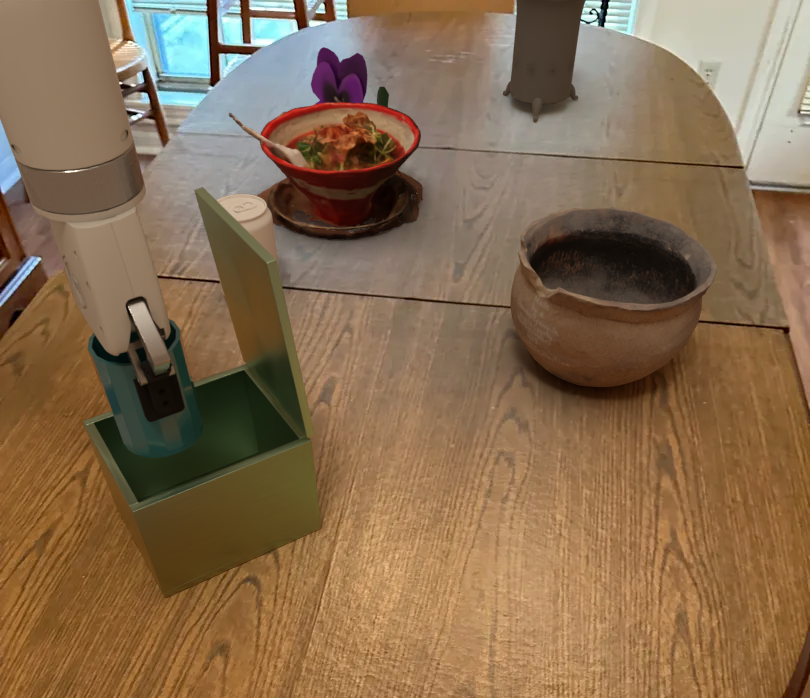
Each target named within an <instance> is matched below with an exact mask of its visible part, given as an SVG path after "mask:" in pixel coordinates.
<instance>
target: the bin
mask: <svg viewBox="0 0 810 698" xmlns="http://www.w3.org/2000/svg"><path fill="white" fill-rule="evenodd" d="M193 383H194V387H195V391H196V395H197V399H198V403H199V407H200V411H201V415H202V421H203V430H202V433H201V435H200V437H199V438H198V439H197V441H196V442H195V443H194V444H192V445H191V446H190V447H188V448H187V449H185V450H183V451H181V452H179V453H176V454H173V455H170V456H165V457H157V458H150V457H143V456H139V455H136V454H134V453H132V452H130V451H129V450H128V449H126V448H125V446H124V445H123V443H122V441H121V438H120V437H119V435H118V432H117V429H116V426H115V423H114V421H113V418H112V415H111V412H110V411H106V412H104V413H102V414H99V415H96V416H94V417H93V416H92V417H90V418H87V419H84V420H82V423H83V427H84V429H85V432H86V434H87V437H88V439H89V442H90V444H91V446H92V450H93V452H94V454H95V458H96V459H97V461H98V464H99V466H100V470H101V472H102V475H103V477H104V480H105V482H106V484H107V487H108V489H109V492H110V494H111V497H112V499H113V503H114V504H115V507H116V509H117V511H118V514H119V515H120V517H121V519H122V521H123V522H124V525H125V526H126V528H127V530H128V532H129V534H130V536H131V538H132V540H133V541H134V543H135V545H136V547H137V549H138V551H139V553H140V554H141V556H142V558H143V560H144V562H145V564H146V566H147V567H148V569H149V571H150V573H151V575H152V576H153V579H154V580H155V582H156V584H157V586H158V589H160V591H161V593H162V595H163V597H164V598H165V599H167V598H169V597H171V596H174V595H176V594H178V593H180V592H182V591H185V590H187V589H189V588H191V587H193V586H195V585H198V584H200V583H203V582H205V581H208V580H209V579H212V578H214V577H216V576H218V575H220V574H222V573H225V572H227V571H230V570H231V569H234V568H237V567H238V566H240V565H242V564H245V563H247V562H249V561H252V560H254V559H256V558H258V557H260V556H262V555H265V554H268V553H270V552H271V551H274V550H277V549H278V548H281V547H283V546H286V545H287V544H289V543H292V542H294V541H296V540H299V539H301V538H303V537H305V536H307V535H310V534H311V533H314V532H317V531H319V530H321V529H322V519H321V511H320V502H319V494H318V485H317V477H316V470H315V469H316V468H315V460H314V449H313V442H312V439H311V438H310V437H308V438H307V437H306V436H305V435H304V433H303V432H302V431H301V430H300V428H299V427H298V426H297V425H296V424H295V422H294V421H293V420H292V419H291V418H290V416H289V415H288V414H287V413H286V411H285V410H284V409H283V408H282V407H281V405H280V404H279V403H278V402H277V401H276V399H275V398H274V397H273V396H272V395H271V393H270V392H269V391H268V390H267V388H266V387H265V386H264V385H263V384H262V382H261V381H260V380H259V379H258V378H257V376H256V375H255V374H254V373H253V371H252V370H251V369H250V368H249V367H248V365H247V364H246V363H244V364H241V365H239V366H236V367H232V368H230V369H227V370H224V371H221V372H218V373H216V374H213V375H210V376H207V377H204V378H202V379H199V380H195V381H193Z"/></svg>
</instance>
